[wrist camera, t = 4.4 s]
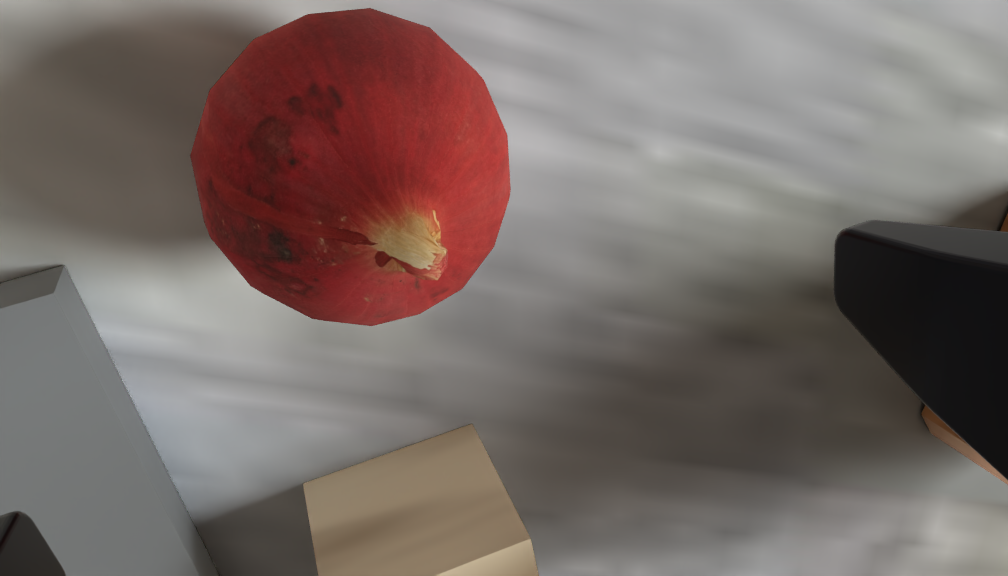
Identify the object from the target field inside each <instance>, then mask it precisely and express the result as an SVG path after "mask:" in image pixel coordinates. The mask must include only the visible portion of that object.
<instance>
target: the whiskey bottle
mask: <svg viewBox="0 0 1008 576" xmlns="http://www.w3.org/2000/svg"><path fill="white" fill-rule="evenodd" d="M1000 231H1001V232H1008V214H1007V216H1006V218H1005V221H1004V223H1003V225H1002V228H1001V230H1000ZM921 415H922V417H923V419H924V421H925V423H926V425H927V427H928V429H929V431H930V433H931V434H933V435H934V436H936V437H937V438H939V439H940V440H942V441H943V442H945V443H946V444H948V445H949V446H951V447H952V448H954V449H955V450H957V451H958V452H960V453H961V454H963V455H964V456H966V457H967V458H969V459H970V460H972V461H973V462H975V463H976V464H978V465H979V466H981V467H982V468H984V469H985V470H987V471H988V472H990V473H991V474H993V475H994V476H996V477H997V478H999V479H1000V480H1002V481H1003V482H1005V483H1006V484H1008V480H1007V479H1005V478H1004V477H1003V476H1002V475H1001V474H1000V473H999V472H998V471H997V470H996V469H995V468H993V467H992V466H991V465H990V464H989V463H988V462H987V461H986V460H985V459H984V458H982V457H981V456H980V455H979V454H978V453H977V452H976V451H975V450H974V449H973V448H972V447H970V446H969V445H968V444H967V443H966V442H965V441H964V440H963V439H962V438H961V437H960V436H958V435H957V434H956V433H955V432H954V431H953V430H952V429H951V428H950V427H949V426H947V425H946V424H945V423H944V422H943V421H942V420H941V419H940V418H939V417H938V416H937V415H936V414H935V413H933V412H932V411H931V410H930V409H929V408H928V407H927V406H926V405H925V407H924V409H923V412H922V414H921Z"/></svg>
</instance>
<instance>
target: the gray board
mask: <svg viewBox="0 0 1008 576" xmlns="http://www.w3.org/2000/svg"><path fill="white" fill-rule="evenodd" d="M13 511H21V512H24V513H26V514H27V515H28V516H29V517H30V518H31V519H32V520H33V521H34V523H35V524H36V526H37V528H38V529H39V531H40V532H41V534H42V536H43V537H44V539H45V540H46V542H47V543H48V545H49V547H50V548H51V550H52V551H53V553H54V555H55V556H56V558H57V559H58V561H59V563H60V564H61V566H62V567H63V569H64V571H65V574H66V576H219V574H218V572H217V570H216V568H215V566H214V564H213V562H212V560H211V558H210V556H209V554H208V552H207V550H206V548H205V546H204V544H203V542H202V540H201V538H200V536H199V534H198V532H197V530H196V528H195V526H194V524H193V522H192V520H191V518H190V516H189V514H188V512H187V510H186V508H185V506H184V504H183V502H182V500H181V498H180V496H179V494H178V492H177V490H176V488H175V486H174V484H173V482H172V480H171V478H170V476H169V474H168V472H167V470H166V468H165V466H164V464H163V462H162V460H161V458H160V456H159V454H158V452H157V450H156V448H155V446H154V444H153V442H152V440H151V438H150V436H149V434H148V432H147V430H146V428H145V426H144V424H143V422H142V420H141V418H140V416H139V414H138V412H137V410H136V408H135V406H134V404H133V401H132V399H131V397H130V395H129V393H128V391H127V389H126V387H125V385H124V383H123V381H122V379H121V377H120V375H119V373H118V371H117V369H116V367H115V365H114V363H113V361H112V359H111V357H110V355H109V353H108V351H107V349H106V347H105V345H104V343H103V341H102V339H101V337H100V335H99V333H98V331H97V329H96V327H95V325H94V323H93V321H92V319H91V317H90V315H89V313H88V311H87V309H86V307H85V305H84V303H83V301H82V299H81V297H80V295H79V293H78V291H77V289H76V287H75V285H74V283H73V281H72V279H71V277H70V275H69V273H68V271H67V269H66V267H65V265H63V266H59V267H55V268H52V269H48V270H45V271H41V272H38V273H34V274H31V275H27V276H24V277H20V278H17V279H13V280H10V281H6V282H3V283H0V516H1V515H4V514H6V513H9V512H13Z"/></svg>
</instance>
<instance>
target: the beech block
mask: <svg viewBox="0 0 1008 576" xmlns="http://www.w3.org/2000/svg"><path fill="white" fill-rule="evenodd" d="M303 487H304V493H305V499H306V505H307V511H308V517H309V523H310V529H311V535H312V541H313V547H314V553H315V559H316V565H317V571H318V576H539V574H538V570H537V565H536V561H535V556H534V552H533V547H532V542H531V538H530V536H529V534H528V532H527V530H526V528H525V526H524V524H523V522H522V520H521V518H520V517H519V515H518V513H517V511H516V509H515V507H514V505H513V503H512V501H511V499H510V497H509V495H508V493H507V491H506V489H505V487H504V485H503V483H502V481H501V479H500V477H499V475H498V473H497V471H496V469H495V467H494V465H493V464H492V462H491V460H490V458H489V456H488V454H487V452H486V450H485V448H484V446H483V444H482V442H481V440H480V438H479V436H478V434H477V432H476V430H475V428H474V426H473V424H470V425H467V426H464V427H461V428H458V429H455V430H453V431H450V432H447V433H444V434H441V435H438V436H436V437H433V438H430V439H427V440H424V441H421V442H419V443H416V444H413V445H410V446H407V447H405V448H402V449H399V450H396V451H393V452H390V453H388V454H385V455H382V456H379V457H376V458H373V459H371V460H368V461H365V462H362V463H359V464H356V465H354V466H351V467H348V468H345V469H342V470H339V471H337V472H334V473H331V474H328V475H325V476H323V477H320V478H317V479H314V480H311V481H308V482H306V483H303Z"/></svg>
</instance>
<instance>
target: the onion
mask: <svg viewBox="0 0 1008 576" xmlns="http://www.w3.org/2000/svg"><path fill="white" fill-rule="evenodd" d="M190 157H191V162H192V166H193V171H194V176H195V181H196V185H197V190H198V195H199V200H200V204H201V209H202V214H203V218H204V222H205V225H206V227H207V230H208V233H209V235H210V238H211V239H212V240H213V241H214V242H215V244H216V245H217V246H218V247H219V248H220V250H221V251H222V252H223V253H224V254H225V256H226V257H227V258H228V259H229V260H230V262H231V263H232V264H233V265H234V266H235V268H236V269H237V270H238V271H239V272H240V274H241V275H242V276H243V277H244V278H245V280H246V281H247V282H248V283H249V284H250V286H252V287H253V288H255V289H257V290H258V291H260V292H262V293H263V294H265V295H267V296H269V297H271V298H273V299H275V300H277V301H279V302H281V303H283V304H285V305H287V306H289V307H291V308H293V309H294V310H296V311H298V312H300V313H302V314H304V315H306V316H308V317H310V318H312V319H318V320H324V321H333V322H341V323H350V324H359V325H368V326H374V325H378V324H382V323H386V322H390V321H394V320H398V319H402V318H406V317H410V316H414V315H417V314H420V313H422V312H424V311H425V310H427V309H429V308H430V307H432V306H434V305H435V304H437V303H439V302H441V301H442V300H444V299H446V298H447V297H449V296H451V295H452V294H454V293H456V292H458V291H459V290H461V289H462V288H463V287H464V286H465V284H466V283H467V282H468V280H469V279H470V278H471V276H472V275H473V274H474V272H475V271H476V270H477V268H478V267H479V266H480V264H481V263H482V262H483V260H484V259H485V258H486V256H487V255H488V254H489V253H490V251H491V250H492V249H493V247H494V245H495V242H496V239H497V236H498V232H499V229H500V226H501V223H502V220H503V217H504V214H505V210H506V207H507V204H508V201H509V196H510V190H511V189H510V173H509V156H508V140H507V133H506V131H505V129H504V126H503V124H502V122H501V119H500V117H499V115H498V112H497V110H496V108H495V105H494V103H493V101H492V98H491V96H490V94H489V91H488V89H487V87H486V84H485V82H484V80H483V79H482V77H481V76H480V75H479V74H478V73H477V71H476V70H475V69H473V68H472V67H471V66H470V65H469V64H468V63H467V62H466V61H465V60H464V59H463V58H462V57H461V56H460V55H458V54H457V53H456V52H455V51H454V50H453V49H452V48H451V47H450V46H449V45H448V44H447V43H446V42H445V41H443V40H442V39H441V38H440V37H439V36H438V35H437V34H436V33H435V32H434V31H433V30H432V29H431V28H429V27H426V26H423V25H420V24H417V23H414V22H411V21H408V20H405V19H402V18H399V17H395V16H392V15H389V14H386V13H383V12H380V11H377V10H374V9H371V8H367V9H357V10H346V11H336V12H325V13H315V14H307V15H305V16H303V17H301V18H299V19H297V20H294V21H292V22H290V23H288V24H286V25H283V26H281V27H279V28H277V29H275V30H273V31H270V32H268V33H266V34H264V35H262V36H260V37H257V38H255V39H254V40H253V41H252V42H251V43H250V44H249V45H248V46H247V47H246V49H245V50H244V51H243V52H242V53H241V54H240V56H239V57H238V58H237V59H236V60H235V61H234V63H233V64H232V65H231V66H230V67H229V68H228V70H227V71H226V72H225V73H224V74H223V75H222V76H221V78H220V79H219V80H218V81H217V82H216V83H215V85H214V86H213V87H212V88H211V89H210V91H209V94H208V97H207V101H206V104H205V108H204V111H203V114H202V118H201V121H200V125H199V128H198V131H197V135H196V138H195V141H194V145H193V148H192V152H191V155H190Z"/></svg>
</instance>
